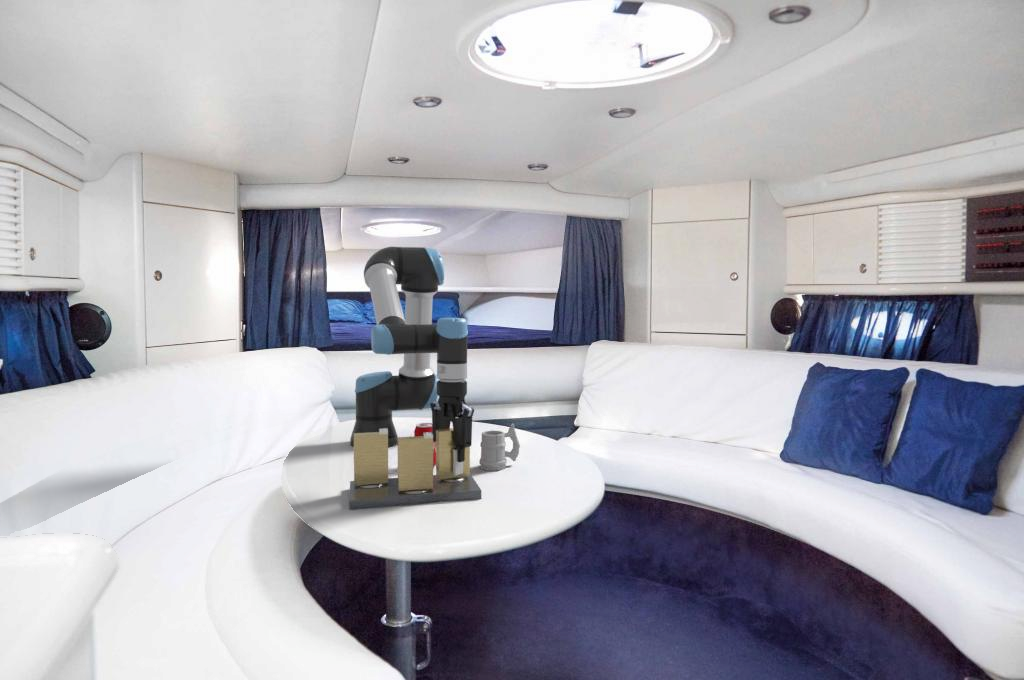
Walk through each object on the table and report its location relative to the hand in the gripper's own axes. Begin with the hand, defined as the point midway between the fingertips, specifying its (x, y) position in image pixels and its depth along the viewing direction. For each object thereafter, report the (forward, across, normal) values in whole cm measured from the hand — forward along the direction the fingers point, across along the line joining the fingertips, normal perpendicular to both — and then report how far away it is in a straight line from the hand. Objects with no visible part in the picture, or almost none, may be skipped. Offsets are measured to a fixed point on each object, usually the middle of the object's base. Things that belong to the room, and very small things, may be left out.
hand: (451, 471), depth 145 cm
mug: (+4, -3, +22) cm, 22 cm away
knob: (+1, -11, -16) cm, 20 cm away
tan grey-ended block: (+1, 0, -12) cm, 12 cm away
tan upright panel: (+1, 0, 0) cm, 1 cm away
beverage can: (+4, -18, +8) cm, 20 cm away
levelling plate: (+4, -3, -10) cm, 11 cm away
